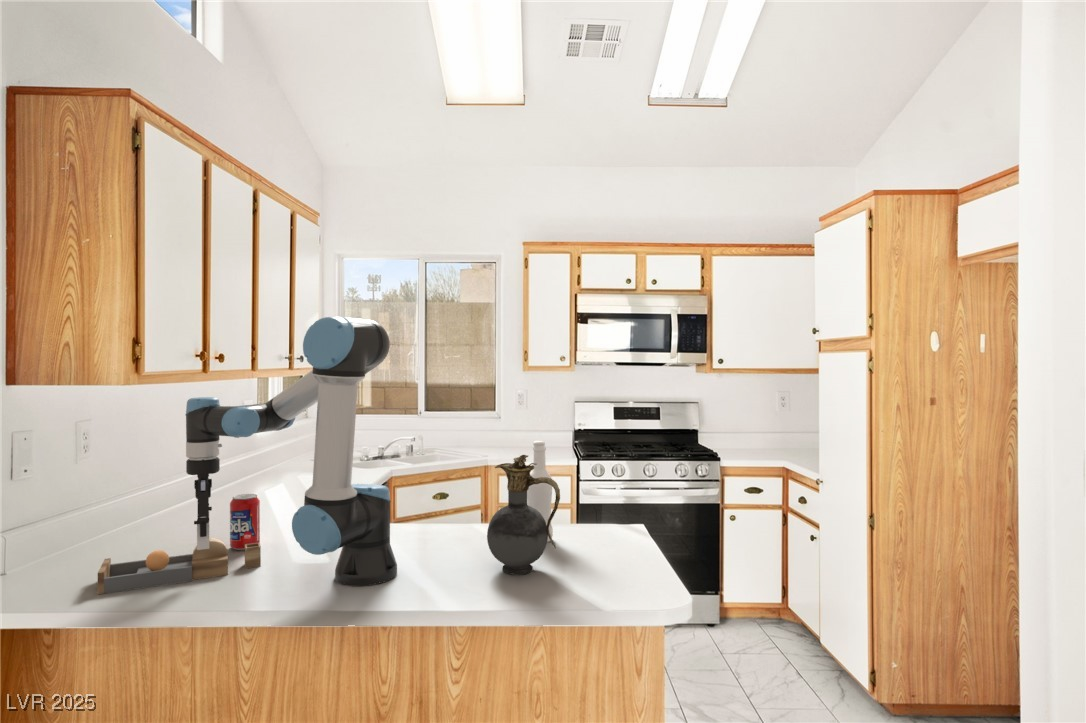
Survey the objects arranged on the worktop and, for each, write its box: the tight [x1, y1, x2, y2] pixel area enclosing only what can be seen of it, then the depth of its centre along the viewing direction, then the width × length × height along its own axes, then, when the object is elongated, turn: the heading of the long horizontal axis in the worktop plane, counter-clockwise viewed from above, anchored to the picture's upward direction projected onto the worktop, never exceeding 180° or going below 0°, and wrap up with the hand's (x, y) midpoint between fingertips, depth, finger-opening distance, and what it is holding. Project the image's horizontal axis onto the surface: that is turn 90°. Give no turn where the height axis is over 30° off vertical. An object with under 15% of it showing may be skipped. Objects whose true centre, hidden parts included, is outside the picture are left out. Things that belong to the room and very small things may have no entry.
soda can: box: [229, 493, 261, 551], centre depth 184 cm, size 8×8×15 cm
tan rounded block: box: [192, 537, 229, 581], centre depth 163 cm, size 10×8×8 cm
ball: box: [145, 549, 170, 571], centre depth 158 cm, size 5×5×5 cm
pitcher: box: [486, 454, 561, 575], centre depth 164 cm, size 11×19×30 cm, turn 76°
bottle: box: [527, 440, 554, 544], centre depth 191 cm, size 8×8×30 cm
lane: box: [103, 553, 193, 595], centre depth 157 cm, size 12×18×4 cm, turn 118°
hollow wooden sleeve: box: [244, 542, 262, 569], centre depth 168 cm, size 4×4×5 cm
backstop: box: [97, 557, 112, 595], centre depth 153 cm, size 12×1×5 cm, turn 28°
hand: (203, 542), depth 163 cm, fingers open, 11 cm apart
